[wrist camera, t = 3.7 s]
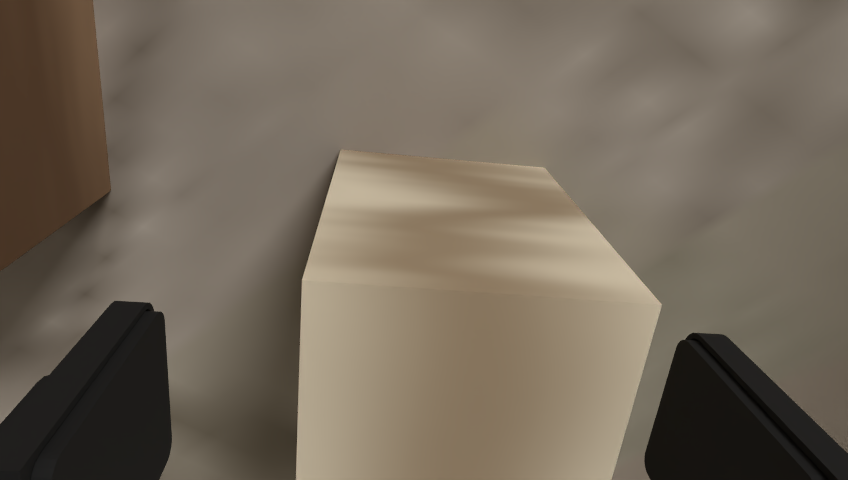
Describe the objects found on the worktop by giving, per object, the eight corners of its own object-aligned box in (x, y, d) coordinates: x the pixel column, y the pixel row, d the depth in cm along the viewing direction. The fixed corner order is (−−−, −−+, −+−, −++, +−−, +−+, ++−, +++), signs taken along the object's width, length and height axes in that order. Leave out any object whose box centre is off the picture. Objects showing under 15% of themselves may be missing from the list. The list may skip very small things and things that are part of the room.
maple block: (544, 167, 15) (661, 305, 8) (511, 340, 17) (588, 560, 10) (340, 149, 14) (302, 280, 8) (331, 329, 16) (293, 551, 10)
